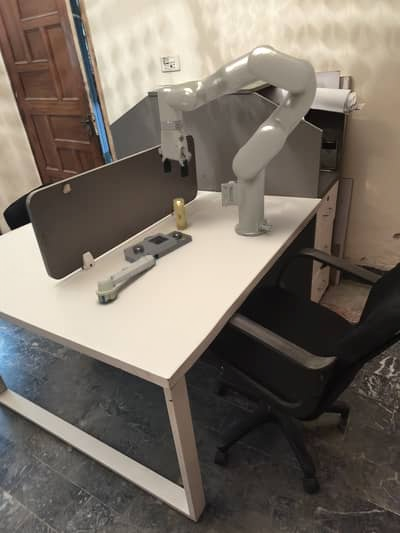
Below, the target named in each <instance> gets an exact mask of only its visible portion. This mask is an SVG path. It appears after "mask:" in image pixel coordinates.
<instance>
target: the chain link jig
mask: <svg viewBox="0 0 400 533" xmlns="http://www.w3.org/2000/svg"><path fill="white" fill-rule="evenodd" d="M191 242H193V237H192V235H189V234H186V233H184V232H182V231H179V230H173V231H171V232H169V233H167V234H165V233H161V232H159V233H155V234H154V235H152V236H150V237H147V238H146V239H144V240H141V241H139V242H137V243H134V244H132V245H131V246H128V247H126V248H124V249H123V254H124V260H125V261H127V262H129V263H130V264H132V263H134V262H135V261H137V260H139V259H140V258H141V257H144V256H146V255H153V256H154V257H155V259H161V258H162V257H164V256H166V255H169V254H170V253H172V252H174V251H177V249H179V248H182V247H183V246H185V245H187V244H189V243H191Z"/></svg>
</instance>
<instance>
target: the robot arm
mask: <svg viewBox="0 0 400 533" xmlns="http://www.w3.org/2000/svg"><path fill="white" fill-rule="evenodd" d="M259 81H262V82H264V83H266V84H268V85H272V86H274V87H276V88H279V89H282V90H284V91H286V92H287V94H286V96H285V97H284V98H283V100H282V101H280V104H278V106H277V107H276V109H275V110H274V111H272V113H270V114H271V115H269V117H267V119H266V120H265V121H264V122H262V124H260V126H259V127H258V128H257V130H256V131H255V133H254V134H252V136H251V137H250V139H249V140H248V141H247V142H246V143H245V144H244V145H243V146H241V148H239V150H238V151H237V153H236V154H235V156H234V157H233V160H232V170H233V173H234V175H235V177H237V181H238V205H237V206H238V207H237V209H238V210H237V211H238V223H237V224H235V226H234V231H235V232H236V233H237V234H239V235H241V236H245V237H256V236H261V235H263V234H265V233H267V232H269V233H270V232H271V231H272V228H273V224H272V223H268V222H267V217H266V218H265V172H266V167H267V166H268V165H269V163H270V162H271V161H272V160H274V158H275V157H276V156H277V155H278V153H279V152H280V151H281V150H282V149H283V147H284V146H285V143H286V140H287V138H288V136H289V135H290V134H291V132H293V131H294V129H295V128H296V127H297V126H298V125H299V123H300V122H301V121H302V120H303V118H304V117H305V116H306V115H307V113H308V112H309V110H310V109H311V107H312V106H313V103H314V102H315V98H316V95H317V87H318V83H317V82H318V80H317V76H316V71H315V68H314V66H313V64H312V63H311V62H310V61H309V60H307V59H304V58H303V59H301V58H297V57H294V56H293V55H289V54H288V53H284V52H283V51H280V50H277V49H275V48H274V47H273V46H271V45H269V44H262V45H261V44H260V45H258V46H256V47H254V48H253V49H252V50H250V51H248V52H247V53H245V54H243V55H241V56H239V57H237V58H235V59H233V60H231V61H229V62H227V63H225V64H223V65H222V66H221V67H219V69H217V70H216V71H215V72H213V73H212V74H210V75H208V76H206V77H203V79H201V80H198V81H196V82H194V83H192V84H189V85H186V86H180V87H178V86H162V87H160V88H158V90H157V101H158V111H159V120H160V129H161V130H160V144H161V145H160V147H159V148H158V149H157V150H158V153H159V157H160V159H161V162H162V163H163V164H162V166H163V173H164V174H167V173H170V172H172V162H171V160H173V161H177V162H179V164H180V166H179V167H180V168H179V169H180V177H181V178H185V177H188V176H189V165H190V162H191V159H192V153H191V152H190V151H189V150H188V148H189V147H188V140H187V136H186V132H185V130H184V129H183V126H184V125H183V118H182V117H183V116H182V115H183V114H182V111H185V112H191V111H194V110H196V109H197V108H201V106H204V105H206V104H207V103H210V102H212V101H214V100H216V99H219V98H221V97H223V96H226V95H231V94H233V93H235V92H238V91H241V90H242V89H244V88H246V87H248V86H251V85H253V84H254V83H257V82H259Z"/></svg>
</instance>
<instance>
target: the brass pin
mask: <svg viewBox="0 0 400 533" xmlns="http://www.w3.org/2000/svg"><path fill="white" fill-rule="evenodd" d="M173 207H174V208H173V209H174V215H175V216H174V217H175V223H176V231H185V230H187V229H188V228H187V227H188V225H187V215H186V207H185V199H184V198H183V197H178V198H177V197H176V198H174V199H173Z"/></svg>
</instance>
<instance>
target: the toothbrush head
mask: <svg viewBox="0 0 400 533" xmlns="http://www.w3.org/2000/svg"><path fill="white" fill-rule="evenodd" d="M156 263H157V260H156V257H154V256H153V255H146V256H144V257H141V258H140V259H139V260H137V261H135V262H134V263H130V264H128V265H126V266H125V267H124V268H122V269H121V270H118V271H116V272H115V273H113V274H112V275H110V276H107V277H102V278H99V279H98V280H97V289H96V290H95V294H96V295H97V298H98V301H99V302H108V300H113V299H116V296H117V297H118V295H117V290H118V288H117V285H120V283H123V282H125V281H126V280H128V279H131V278H132V277H134V276H137V275H138V274H140V273H141V272H144V271H145V270H146V271H148V270H149V269H150V268H151V267H153V266H154V265H156Z"/></svg>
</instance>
